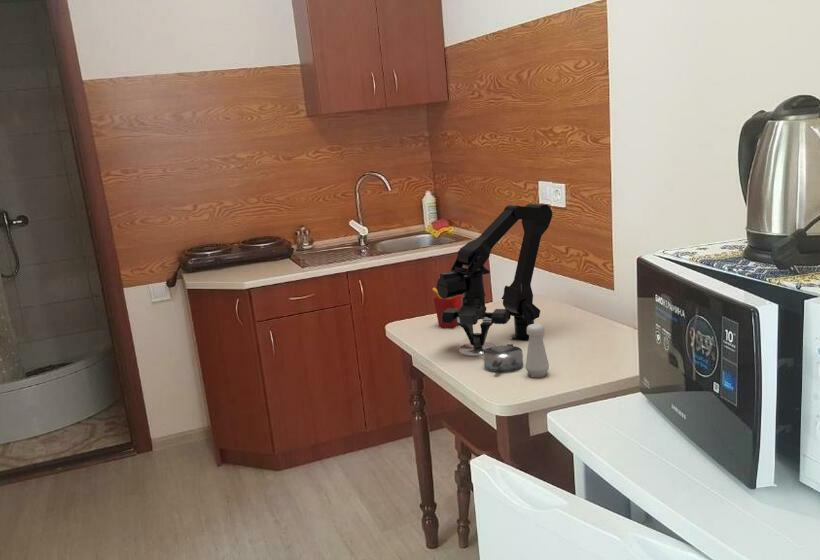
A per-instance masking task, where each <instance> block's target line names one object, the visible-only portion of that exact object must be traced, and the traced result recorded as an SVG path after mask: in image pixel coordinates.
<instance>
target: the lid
mask: <svg viewBox="0 0 820 560" xmlns="http://www.w3.org/2000/svg"><path fill="white" fill-rule="evenodd" d="M472 336H473V345H471V343H470V342H469V343H465V344H463V345H461V346H459V348H458V349H459V353H460V354H461V355H462V356H468V357H484V351H485V350H486V349H488V348H491V347H495V346H497V344H495V343H493V342H486V341H485V343H484V345H483V346H482V344H481V332H476V333H475V332H473V334H472Z"/></svg>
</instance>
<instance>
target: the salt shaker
mask: <svg viewBox="0 0 820 560" xmlns="http://www.w3.org/2000/svg"><path fill="white" fill-rule="evenodd" d="M544 333H545V328H544V326H543V325H542V324H540V323H534V324H531V325H529V326H527V334H528V335H529V340H528V342H527V343H528V345H527V350H526V351H527V352H526V359H525V370H526V372H527V374H528V375H529V377H531V376H532V378H543V377H546V376H547V373H548V371H549V368H550V363H549V360H548V355H547V352H546V348H545V344H544V338H543V335H544Z"/></svg>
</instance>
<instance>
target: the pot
mask: <svg viewBox="0 0 820 560" xmlns="http://www.w3.org/2000/svg"><path fill="white" fill-rule="evenodd" d="M483 361H484V363H483V364H484V365H483V366H484V369H485V370H486V371H488V372H489V373H490V372H491V373H497V374H505V373H507V374H508V373H512V372H513V373H514V372H517V371H519V370H522V368H523V367H524V359H523V349H522V348H520V347H518V346H514V344H506V345H496V346H495V347H491V348H488V349H486V350H485V351H484V356H483Z"/></svg>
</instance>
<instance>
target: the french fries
mask: <svg viewBox="0 0 820 560" xmlns="http://www.w3.org/2000/svg"><path fill="white" fill-rule="evenodd" d="M431 290H432V291H433V292H434V293H435V294H437V295H436V296H435V297H434V298H433V302H434V307H435V313H436V318H437V323H438V327H441V328H440V329H446V328H454V327H455V328H457V327H458V325H457V323H458V321H457V319H454V321H453V322H452V323H442V321H441V315H442V313H443V312H444V311H445V310H446V309H448V308H459V309H460V308H461V307H462V295H458V296H454V297H450V298H445V299H443V298H441V297H440V296H439V294H438V291H437V288H436V287H433V288H432V289H431ZM456 326H457V327H456ZM455 328H454V329H455Z"/></svg>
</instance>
